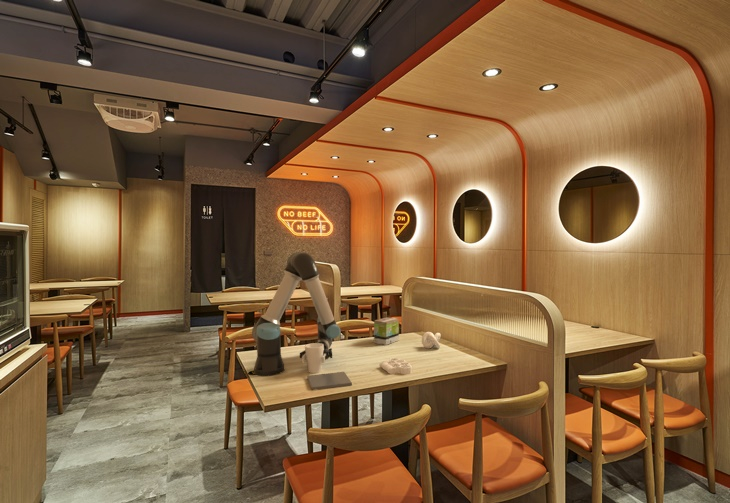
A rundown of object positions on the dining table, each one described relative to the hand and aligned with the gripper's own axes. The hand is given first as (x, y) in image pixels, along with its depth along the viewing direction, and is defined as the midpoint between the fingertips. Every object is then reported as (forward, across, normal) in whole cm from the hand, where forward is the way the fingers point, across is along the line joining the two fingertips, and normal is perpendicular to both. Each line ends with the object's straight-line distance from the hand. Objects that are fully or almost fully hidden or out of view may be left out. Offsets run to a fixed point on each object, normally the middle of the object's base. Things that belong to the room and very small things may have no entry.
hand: (312, 359), depth 188 cm
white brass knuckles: (-9, -41, -8) cm, 43 cm away
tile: (+10, -10, -7) cm, 16 cm away
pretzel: (-49, -62, -7) cm, 80 cm away
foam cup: (-4, 0, -7) cm, 8 cm away
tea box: (-63, -35, -7) cm, 72 cm away
